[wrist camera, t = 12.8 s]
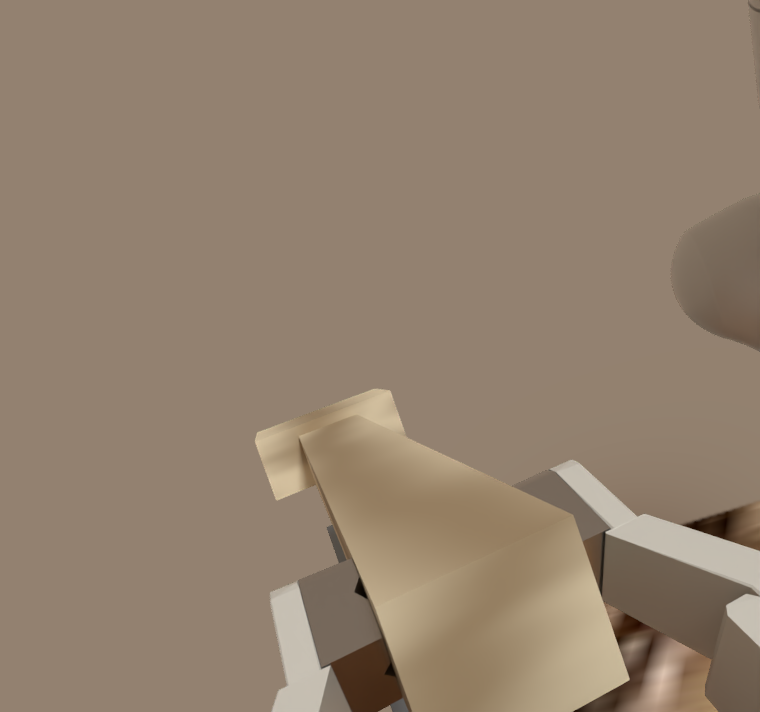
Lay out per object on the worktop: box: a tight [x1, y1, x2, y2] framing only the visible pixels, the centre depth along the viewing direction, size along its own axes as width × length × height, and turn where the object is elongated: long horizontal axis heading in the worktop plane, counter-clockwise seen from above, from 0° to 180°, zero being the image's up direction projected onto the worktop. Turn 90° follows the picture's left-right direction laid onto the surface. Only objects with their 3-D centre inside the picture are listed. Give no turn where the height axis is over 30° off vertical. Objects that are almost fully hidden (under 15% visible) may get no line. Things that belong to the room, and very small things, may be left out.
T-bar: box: [255, 389, 630, 712], centre depth 18 cm, size 7×23×3 cm, turn 13°
